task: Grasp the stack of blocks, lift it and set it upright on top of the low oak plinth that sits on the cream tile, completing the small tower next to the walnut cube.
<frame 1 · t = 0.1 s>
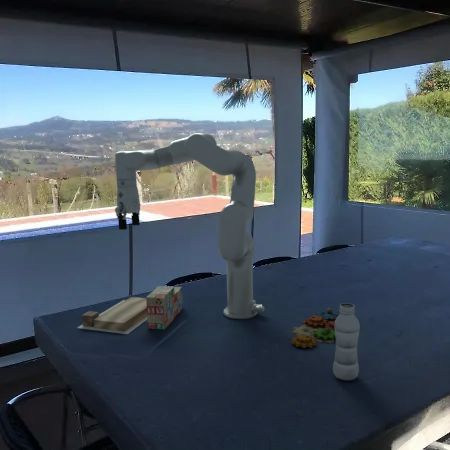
hand: (129, 227, 179), 31 cm above the table, tool pointing down, fingers open, 9 cm apart
stack of blocks: (166, 320, 165), on the table
cream tile: (125, 317, 168), on the table
plastic bottle: (345, 378, 120), on the table
walnut cube: (91, 324, 160), point 1 cm above the table, touching cream tile
gear puzzle: (318, 333, 151), on the table
oak plinth: (128, 316, 167), resting on cream tile
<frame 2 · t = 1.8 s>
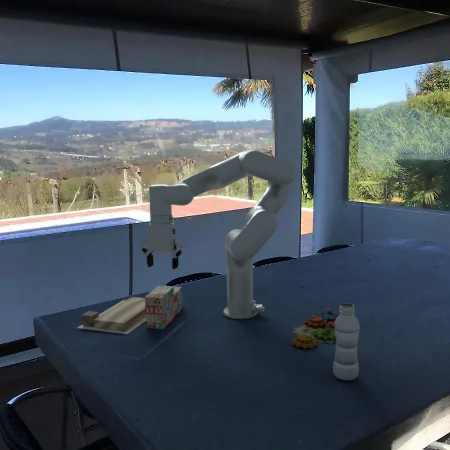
hand: (162, 267, 162), 20 cm above the table, tool pointing down, fingers open, 9 cm apart
nothing on the table moved.
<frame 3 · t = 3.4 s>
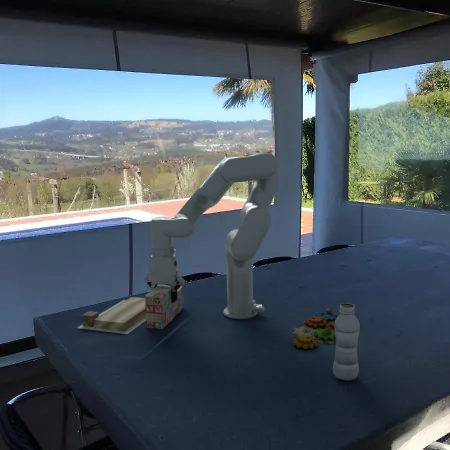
hand: (165, 300, 164), 7 cm above the table, tool pointing down, fingers closed on stack of blocks, 6 cm apart
stack of blocks: (166, 319, 166), on the table, touching gripper
everything else where it was.
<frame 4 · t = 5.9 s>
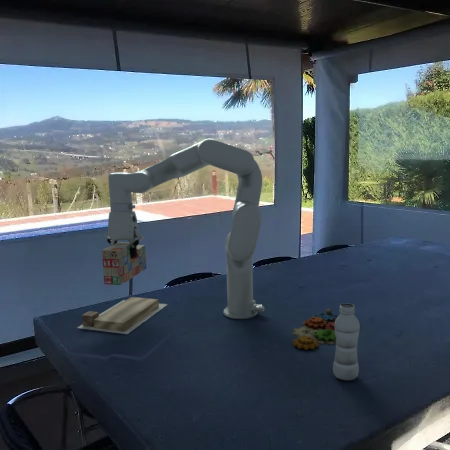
hand: (124, 256, 163), 23 cm above the table, tool pointing down, fingers closed on stack of blocks, 6 cm apart
stack of blocks: (126, 276, 165), point 16 cm above the table, touching gripper
everything else where it was.
when the fingers open (12 cm above the table, at t = 8.3 s): stack of blocks drops 1 cm, resting on oak plinth.
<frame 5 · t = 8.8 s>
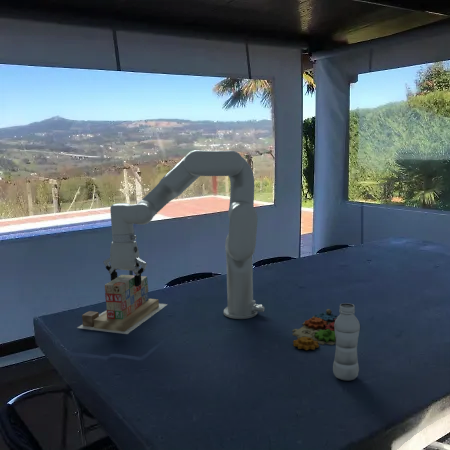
hand: (126, 284, 165), 13 cm above the table, tool pointing down, fingers open, 9 cm apart
stack of blocks: (129, 308, 167), point 4 cm above the table, touching oak plinth
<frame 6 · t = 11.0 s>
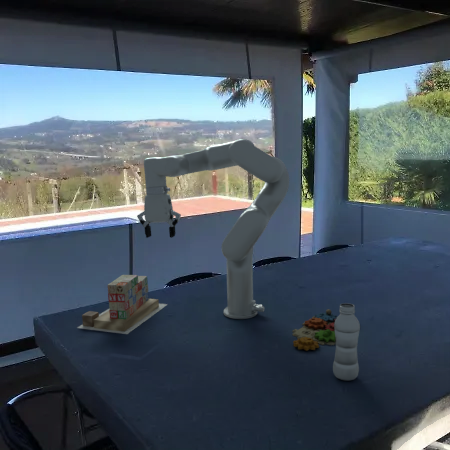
hand: (160, 236, 170), 29 cm above the table, tool pointing down, fingers open, 9 cm apart
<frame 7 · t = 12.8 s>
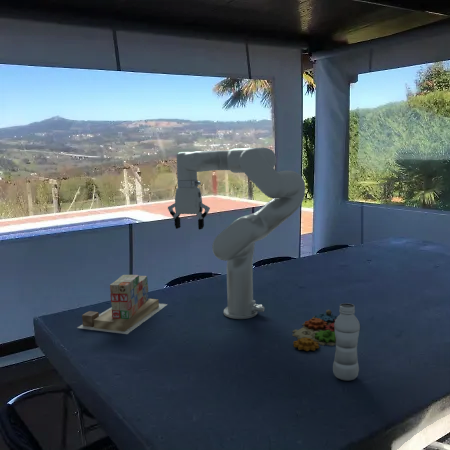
hand: (189, 228, 177), 30 cm above the table, tool pointing down, fingers open, 9 cm apart
at the end: stack of blocks inside the target area on the oak plinth (1.5 cm from its centre), point 2.8 cm above the oak plinth's base; stack of blocks touching oak plinth; stack of blocks tilted 0° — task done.
